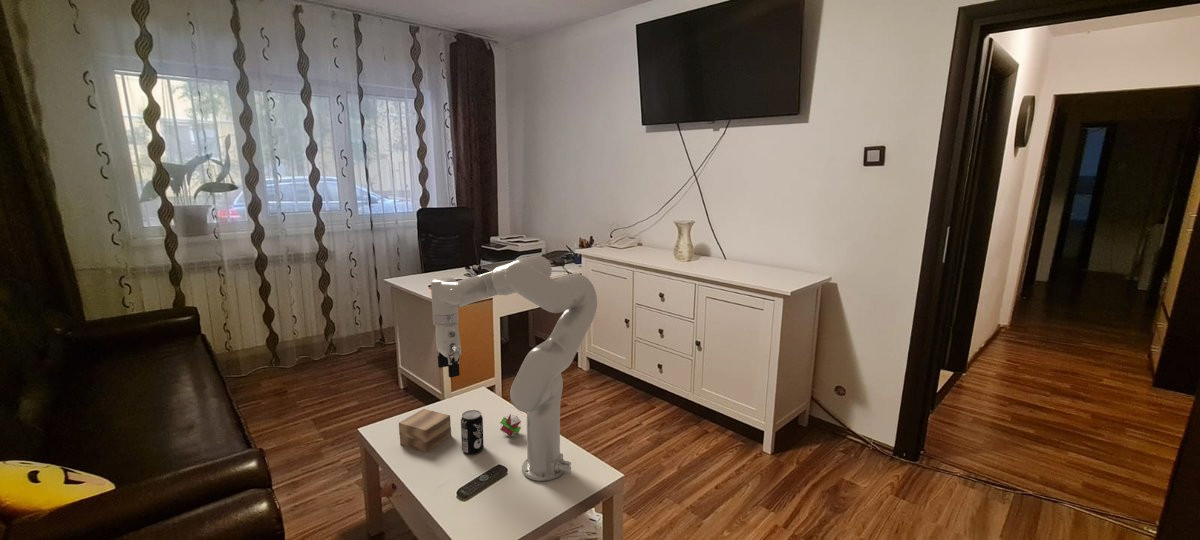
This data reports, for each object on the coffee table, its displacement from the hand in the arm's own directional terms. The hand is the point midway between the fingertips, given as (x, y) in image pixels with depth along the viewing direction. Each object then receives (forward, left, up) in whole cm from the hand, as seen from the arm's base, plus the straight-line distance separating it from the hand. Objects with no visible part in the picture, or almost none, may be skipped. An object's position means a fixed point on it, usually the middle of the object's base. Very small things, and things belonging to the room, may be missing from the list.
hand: (448, 371), depth 158 cm
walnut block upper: (+8, +3, -21) cm, 23 cm away
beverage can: (-9, 0, -24) cm, 26 cm away
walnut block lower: (+8, +2, -25) cm, 26 cm away
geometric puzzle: (-15, -12, -24) cm, 31 cm away
